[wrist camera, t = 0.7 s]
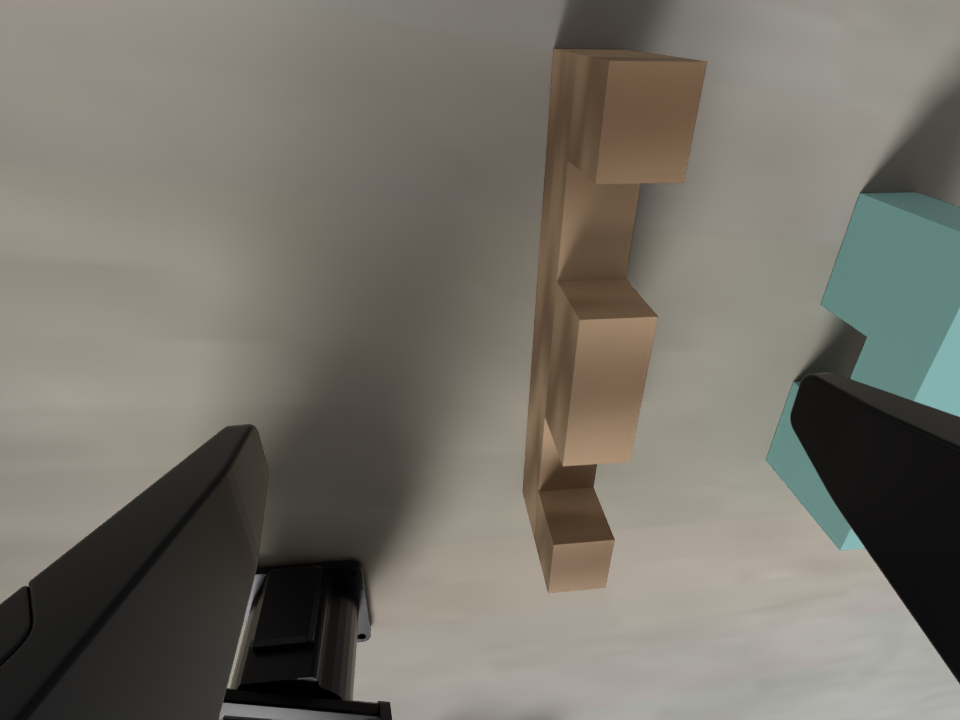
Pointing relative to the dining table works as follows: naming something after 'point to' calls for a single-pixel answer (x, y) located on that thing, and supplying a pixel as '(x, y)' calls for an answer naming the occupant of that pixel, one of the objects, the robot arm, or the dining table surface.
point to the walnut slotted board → (595, 289)
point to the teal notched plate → (887, 325)
